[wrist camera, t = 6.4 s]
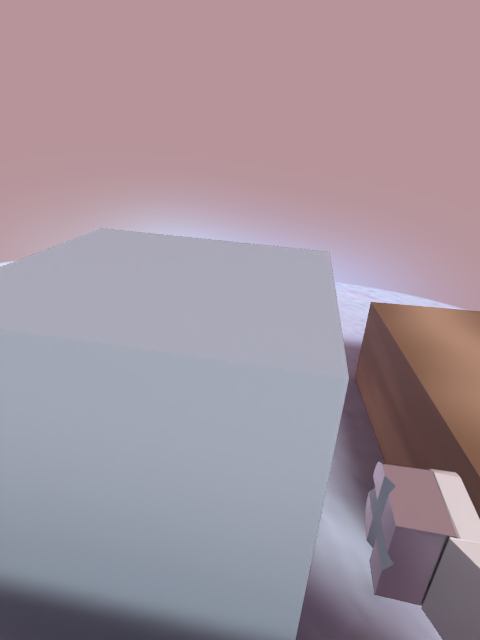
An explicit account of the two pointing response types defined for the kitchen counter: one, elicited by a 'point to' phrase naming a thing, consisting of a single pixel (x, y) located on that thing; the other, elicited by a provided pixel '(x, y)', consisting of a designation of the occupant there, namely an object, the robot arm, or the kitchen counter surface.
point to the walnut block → (424, 388)
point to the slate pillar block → (164, 436)
